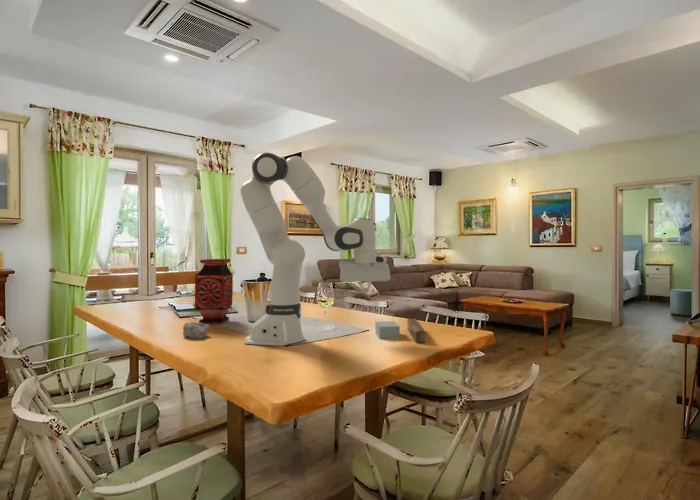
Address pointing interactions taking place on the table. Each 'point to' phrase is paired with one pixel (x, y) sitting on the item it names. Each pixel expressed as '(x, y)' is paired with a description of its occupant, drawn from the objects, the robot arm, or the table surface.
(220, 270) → the vase
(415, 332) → the dark brown bar
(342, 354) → the table surface
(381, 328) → the block
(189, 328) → the stone
